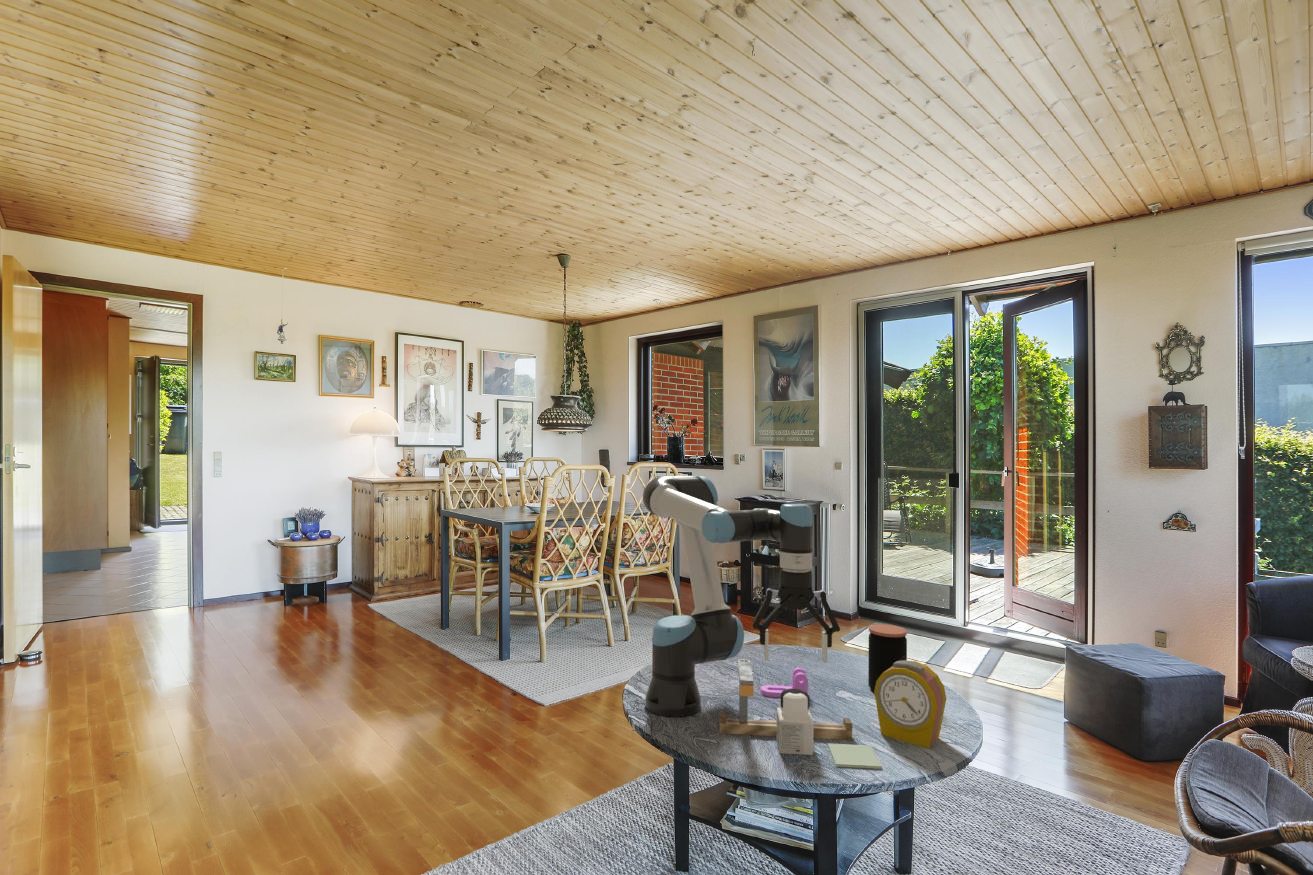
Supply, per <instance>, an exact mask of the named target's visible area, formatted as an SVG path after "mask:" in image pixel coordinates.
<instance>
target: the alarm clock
mask: <svg viewBox="0 0 1313 875" xmlns="http://www.w3.org/2000/svg"><path fill="white" fill-rule="evenodd" d="M938 675H939V674H937V673H936V672H935V671H934V670H932V669H931V668H930V667H929V666H927V665H926V664H923V663H921V662H919V661H916V660H907V661H906V660H902V661H896V662H895V663H894V664H893V666H892V667H891V668H889V669H888V670H886V671H885V672H883V673H882V675H881V676H880V677H879V678H878V680H877V681H876V686H875V690H874V692H873V693H874V694H873V695H874V697H875V698H874V699H875V704H876V705H875V706H876V710H877V716H878V722H879V729H880V735H881V736H886V737H888V738H891V739H895V740H898V741H899V740H900V741H902V742H905V743H908V744H912V745H914V746H915V745H916V746H918V745H919V746H918V747H923V748H925V747H926V749H928V748H929V749H930V748H931V747H932V746H933V745H934V744H935V743H936V742H937V741H938V740H939V738H940V733H941V728H942V723H943V717H944V713H945V708H946V703H947V702H946V701H947V695H946V694H947V693H946V689H945V685H944V683H943V682H942V680H941V678H940V677H939V676H938ZM936 740H937V741H936ZM935 741H936V742H935ZM934 742H935V743H934ZM933 743H934V744H933Z"/></svg>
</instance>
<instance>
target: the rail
mask: <svg viewBox="0 0 1313 875" xmlns="http://www.w3.org/2000/svg"><path fill="white" fill-rule="evenodd" d="M842 719H843V720H842V722H843V723H828V722H827V723H826V722H813V739H823V740H824V739H826V740H827V739H829V740H846V741H852V740H853V722H852V720H851V717H843V718H842ZM719 734H724V735H725V734H726V735H728V734H729V735H749V736H750V735H751V736H766V737H769V736H770V737H777V720H769V719H768V720H765V719H748V718H747V722H739V718H727V712H726V711H719Z"/></svg>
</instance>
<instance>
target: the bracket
mask: <svg viewBox="0 0 1313 875" xmlns="http://www.w3.org/2000/svg"><path fill="white" fill-rule="evenodd" d="M786 689H800V690H802V691H804V692H806V693H807V694H808V695H809V693H808V692H809V691H808V690H809V680H808V676H807V674H806V671H805V670H804V668H802V667H795V668H794V669H793V670H792V685H789V686H788V685H777V684H776V685H775V684H774V685H773V684H766V685H761V687H760V694H761V695H762V696H765V697H768V698H769V697H772V698H781V692H782V691H784V690H786Z"/></svg>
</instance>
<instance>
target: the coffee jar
mask: <svg viewBox="0 0 1313 875" xmlns="http://www.w3.org/2000/svg"><path fill="white" fill-rule="evenodd" d="M868 631H869V635H868V672H867V673H868V675H867V676H868V681H867V682H868V687H869V689H870V690H871V691H872V692H873V693H874V690H875V686H876V681H877V680H878V678H879V677H880V676H881V675H882V673H883V672H885V671H886V670H888V669H889V668H891V667H892V666H893V664H894V663H895V662H896V661H902V660H906V661H908V654H907V653H908V639H907V637H906V636H907V634H908V633H907V632H908V630H907V629H905V628H903V627H901V626H898V625H894V624H886V623H885V624H884V623H883V624H882V623H881V624H880V623H879V624H878V623H877V624H872V625H869V626H868Z"/></svg>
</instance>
